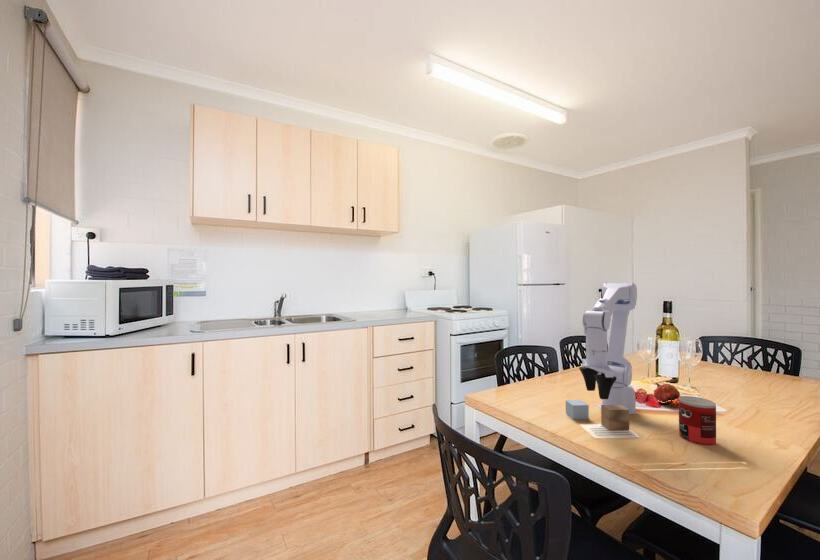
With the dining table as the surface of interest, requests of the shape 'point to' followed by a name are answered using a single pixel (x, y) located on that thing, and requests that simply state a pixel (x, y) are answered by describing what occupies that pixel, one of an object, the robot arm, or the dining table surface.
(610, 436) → the letter
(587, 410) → the cube
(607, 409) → the walnut block
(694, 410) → the canned food
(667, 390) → the pomegranate
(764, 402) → the dining table surface
